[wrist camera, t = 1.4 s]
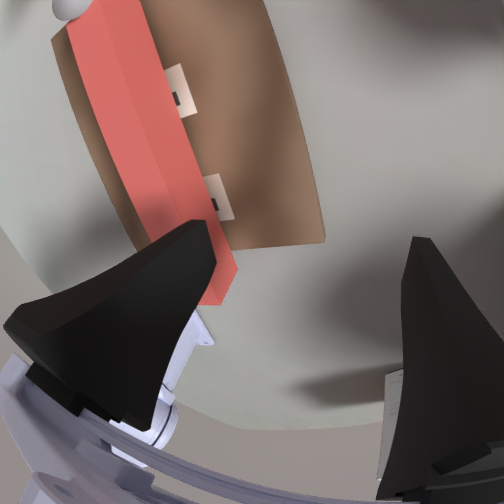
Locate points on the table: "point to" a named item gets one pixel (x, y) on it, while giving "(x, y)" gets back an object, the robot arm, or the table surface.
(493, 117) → the table surface
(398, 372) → the small box
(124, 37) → the swing arm
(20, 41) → the table surface
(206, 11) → the label board
